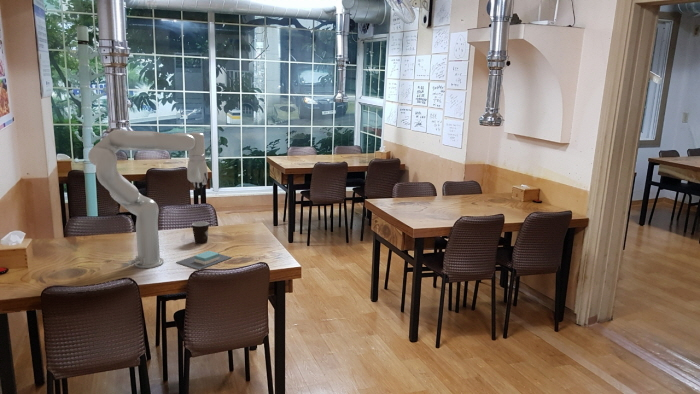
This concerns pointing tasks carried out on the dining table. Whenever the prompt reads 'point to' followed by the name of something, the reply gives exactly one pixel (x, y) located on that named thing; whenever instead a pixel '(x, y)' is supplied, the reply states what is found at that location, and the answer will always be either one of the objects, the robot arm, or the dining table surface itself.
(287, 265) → the dining table surface
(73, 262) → the dining table surface
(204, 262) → the card deck
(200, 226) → the coffee mug
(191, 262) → the mat
